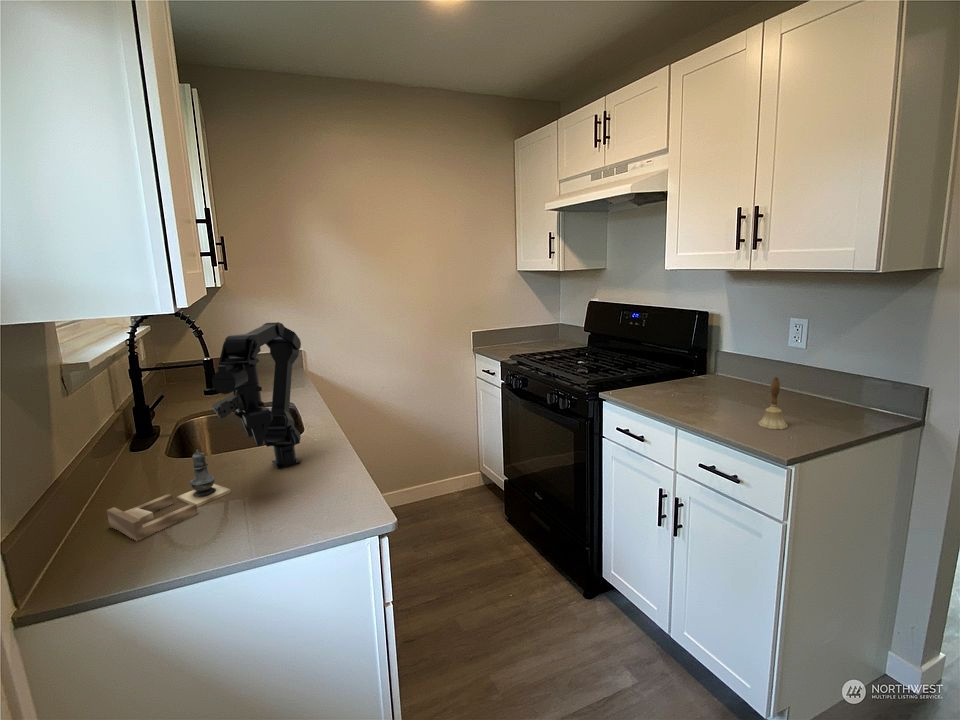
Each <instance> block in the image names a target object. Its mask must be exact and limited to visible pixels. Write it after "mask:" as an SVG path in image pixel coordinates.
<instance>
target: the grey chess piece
mask: <svg viewBox="0 0 960 720" xmlns="http://www.w3.org/2000/svg"><path fill="white" fill-rule="evenodd" d="M205 455H206V454H205V453H204V452H201V451H200V450H199V449H196V452H195V453H193V454H192V455H191V457H192V458H191V459H192V463H193V464H192V465H193V466H192V467H191V468H192V469H193V471H194V478H193V479H191V480H190V481H189V485H190V486H191V487H192V490H196V492H195V493H194V494H193V496H194V497H205V496H208V495H211V494H213V493H214V492H215V491H216V489H215V488H213V487H212V486H213V484H215V480H216V476H215V475H213V474H210V473H209V472H208V467H209V464H208V463H207V460H206V456H205Z"/></svg>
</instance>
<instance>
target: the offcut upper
mask: <svg viewBox="0 0 960 720" xmlns="http://www.w3.org/2000/svg"><path fill="white" fill-rule="evenodd" d="M127 513H128V514H130V515H132V516H134V517H136V518H138V519H140V520H141V522H142V525H143V524H146V523H148V522H150V521H153V520H155V517H154V512H150V511H146V510H143V509H139V508H136V509H133V510H131V511H129V512H127Z"/></svg>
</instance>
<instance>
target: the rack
mask: <svg viewBox="0 0 960 720" xmlns="http://www.w3.org/2000/svg"><path fill="white" fill-rule="evenodd" d="M171 504H172V505H174V504H175V502H174V497H173V494H171V493H167V494H165V495H162V496H159V497H157V498H155V499H152V500H150V501H147V502H145V503H143V504H140V505H137V506H134V507H133V508H130V509H127V510H125V511H124V510H121V509H119V508H117V507H114V506H113V507H111V508H109V509H106V514H107V519H108V524H109V527H110V526H111V527H113V528H115V529H117V530H119V531H120V532H122V533H123V534H125V535H127V536H129V537H130V538H129V537H128V538H129V539H131V538H132V539H131V540H133V539H134V540H133V541H135V540H136V541H135V542H139V541H141V540H143V539H145V537H146V538H148V537H150V536H152V535H154V534H156V533H155V532H157V531H159V532H161V531H163V530H165V529H167V528H166V527H168V528H170V527H172V526H174V525H176V524H179V523H181V522H182V520H183V521H185V520H188V519H189V517H190V518H192V517H194V516H197V515H198V514H199V511H198V507H197V505H196V504H194V503H192V504H187V505H185V506H183V507H180V508H178V509H176V510H174V511H171V512H169V513H167V514H165V515H162V516H159V517H158V518H154V520H153V521H150V522H148V523H146V524H143V525H142V522H141V520H140V519H138V518H136V517H134V516H132V515H130V514H128V513H127V512H129V511H131V510H133V509H136V508H139V509H143V510H146V511H150V512H153V513H155V512H157V511H156V510H158V511H160V510H163V509H165V508H167V507H169V505H170V506H172V505H171ZM166 506H167V507H166ZM164 507H165V508H164ZM162 508H163V509H162ZM159 509H160V510H159ZM154 511H155V512H154ZM178 522H179V523H178ZM173 524H174V525H173ZM171 525H172V526H171ZM169 526H170V527H169ZM164 528H165V529H164ZM162 529H163V530H162ZM160 530H161V531H160ZM120 532H119V533H120ZM122 533H121V534H122ZM153 533H154V534H153ZM157 533H158V532H157ZM123 534H122V535H123ZM151 534H152V535H151ZM125 535H124V536H125ZM149 535H150V536H149ZM127 536H126V537H127ZM147 536H148V537H147ZM138 540H139V541H138Z"/></svg>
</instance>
